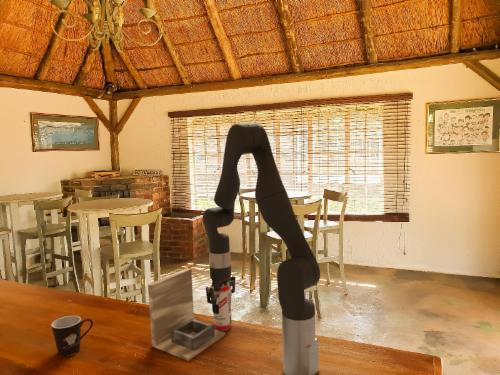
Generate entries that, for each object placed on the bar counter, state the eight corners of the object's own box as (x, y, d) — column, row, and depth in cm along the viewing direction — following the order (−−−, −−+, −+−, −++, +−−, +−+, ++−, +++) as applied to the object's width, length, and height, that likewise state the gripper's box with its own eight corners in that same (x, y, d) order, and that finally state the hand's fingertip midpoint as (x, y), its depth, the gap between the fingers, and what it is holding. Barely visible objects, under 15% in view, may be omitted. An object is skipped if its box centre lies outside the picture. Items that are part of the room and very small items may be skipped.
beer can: (229, 332, 135) (227, 288, 133) (211, 331, 136) (209, 287, 134) (233, 324, 141) (231, 281, 139) (216, 322, 143) (215, 280, 141)
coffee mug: (51, 360, 121) (48, 330, 120) (57, 346, 130) (54, 318, 128) (91, 354, 124) (89, 324, 123) (94, 340, 133) (92, 312, 131)
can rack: (152, 346, 128) (147, 284, 125) (190, 324, 142) (187, 268, 140) (188, 360, 119) (184, 294, 116) (224, 335, 133) (222, 275, 131)
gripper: (215, 271, 128) (217, 320, 130) (241, 259, 140) (242, 304, 142) (198, 268, 132) (200, 315, 134) (224, 256, 144) (226, 300, 146)
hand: (222, 309), depth 138 cm, fingers closed on beer can, 6 cm apart
